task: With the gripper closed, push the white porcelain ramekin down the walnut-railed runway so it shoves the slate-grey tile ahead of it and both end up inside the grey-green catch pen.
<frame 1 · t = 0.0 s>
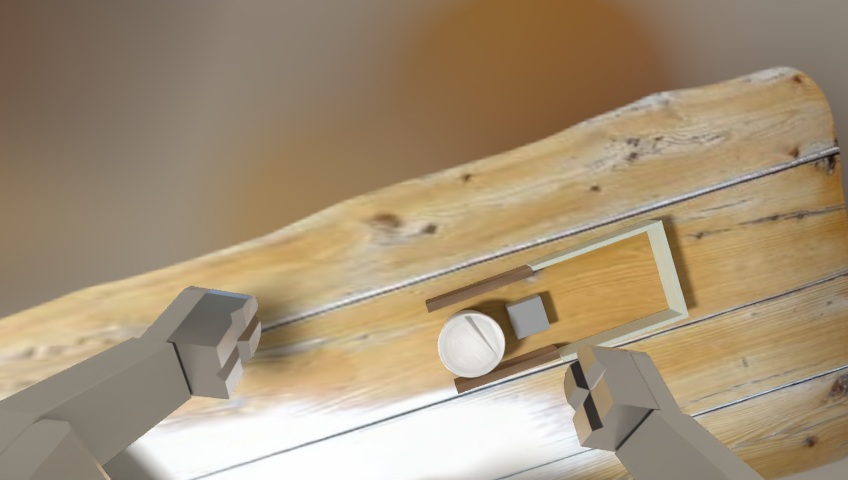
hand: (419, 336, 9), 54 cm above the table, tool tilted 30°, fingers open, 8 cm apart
catch pen: (599, 288, 65), on the table
slate tile: (524, 313, 66), on the table
ramekin: (467, 334, 66), on the table
runway rails: (491, 326, 65), on the table
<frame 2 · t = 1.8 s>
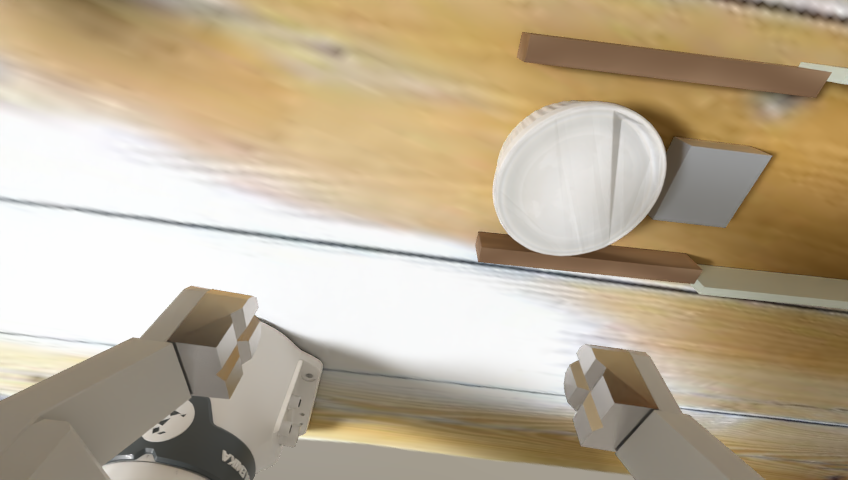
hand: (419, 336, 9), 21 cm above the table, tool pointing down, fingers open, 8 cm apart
slate tile: (689, 176, 30), on the table
ramekin: (556, 161, 29), on the table
runway rails: (613, 169, 29), on the table
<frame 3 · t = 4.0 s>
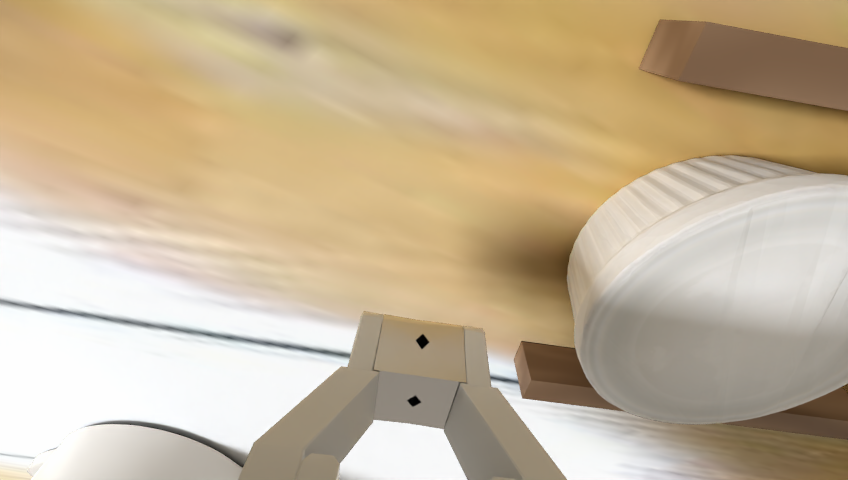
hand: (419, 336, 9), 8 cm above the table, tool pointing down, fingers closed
ramekin: (667, 247, 17), on the table
runway rails: (763, 265, 17), on the table
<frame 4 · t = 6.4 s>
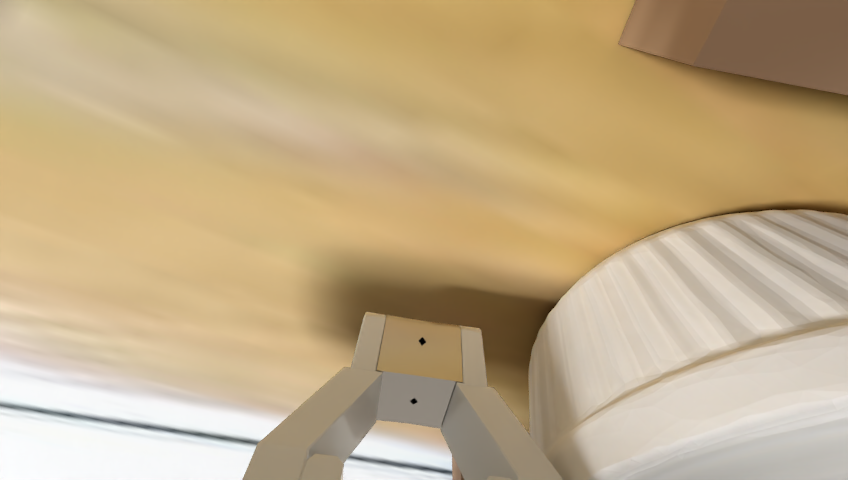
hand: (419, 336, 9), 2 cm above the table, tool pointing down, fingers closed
ramekin: (685, 331, 11), on the table, touching gripper
runway rails: (812, 355, 11), on the table
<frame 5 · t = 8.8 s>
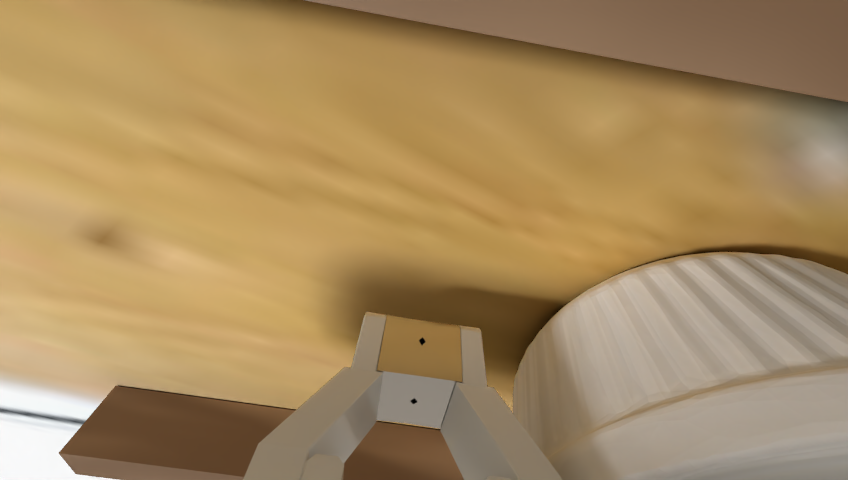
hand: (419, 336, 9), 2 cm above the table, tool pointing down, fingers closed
ramekin: (661, 355, 12), on the table, touching gripper
runway rails: (373, 289, 11), on the table
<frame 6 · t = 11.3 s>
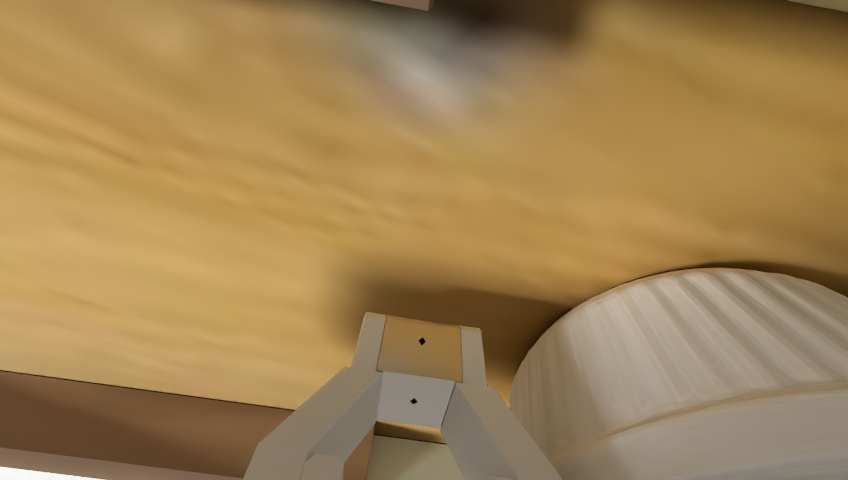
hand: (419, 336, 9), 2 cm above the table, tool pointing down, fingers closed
catch pen: (756, 345, 11), on the table
ramekin: (656, 366, 12), on the table, touching gripper
runway rails: (54, 240, 10), on the table
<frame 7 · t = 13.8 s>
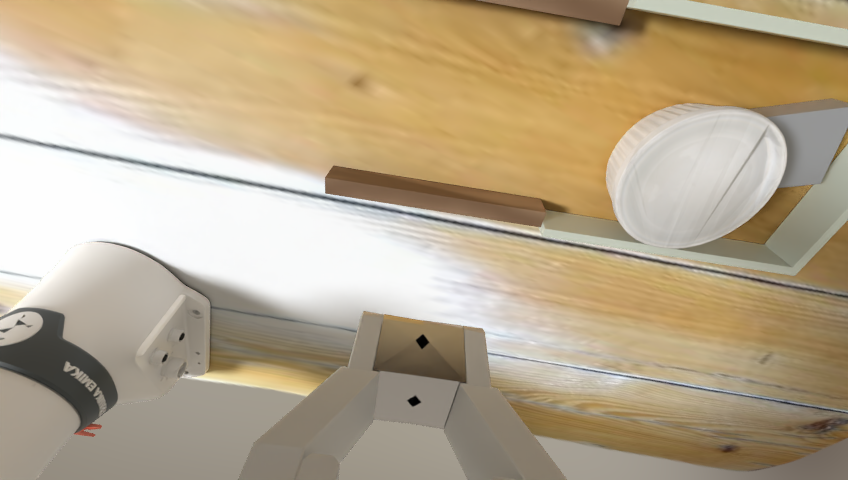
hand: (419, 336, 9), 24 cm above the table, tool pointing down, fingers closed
catch pen: (700, 144, 30), on the table
slate tile: (769, 141, 30), on the table
ramekin: (662, 159, 31), on the table
runway rails: (452, 103, 29), on the table
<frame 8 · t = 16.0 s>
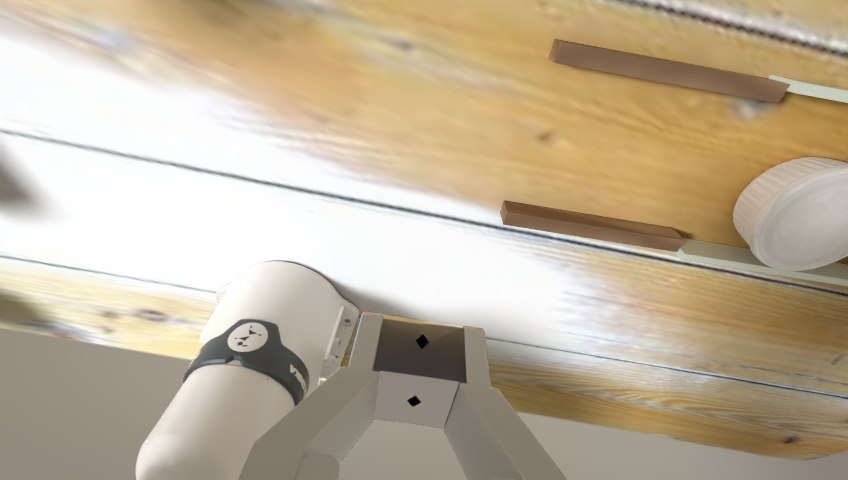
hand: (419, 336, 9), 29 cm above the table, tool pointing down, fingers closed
catch pen: (814, 186, 37), on the table
ramekin: (779, 197, 38), on the table
runway rails: (618, 153, 36), on the table
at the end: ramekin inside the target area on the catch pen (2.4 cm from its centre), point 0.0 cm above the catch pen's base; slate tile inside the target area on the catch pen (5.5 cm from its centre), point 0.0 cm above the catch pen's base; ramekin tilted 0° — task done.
